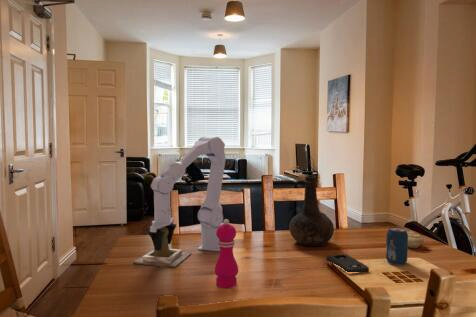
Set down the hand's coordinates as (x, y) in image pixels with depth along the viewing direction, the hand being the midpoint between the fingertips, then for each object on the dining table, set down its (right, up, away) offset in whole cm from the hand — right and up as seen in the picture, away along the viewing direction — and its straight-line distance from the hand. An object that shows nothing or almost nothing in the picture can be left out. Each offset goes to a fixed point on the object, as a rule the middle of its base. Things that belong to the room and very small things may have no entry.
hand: (163, 246), depth 136 cm
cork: (-1, -4, +1) cm, 4 cm away
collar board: (0, -5, 0) cm, 4 cm away
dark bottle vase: (+57, -3, +19) cm, 61 cm away
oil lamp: (+97, -3, +17) cm, 99 cm away
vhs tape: (+65, -6, -7) cm, 65 cm away
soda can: (+83, -5, -4) cm, 83 cm away
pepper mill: (+24, -6, -22) cm, 33 cm away
